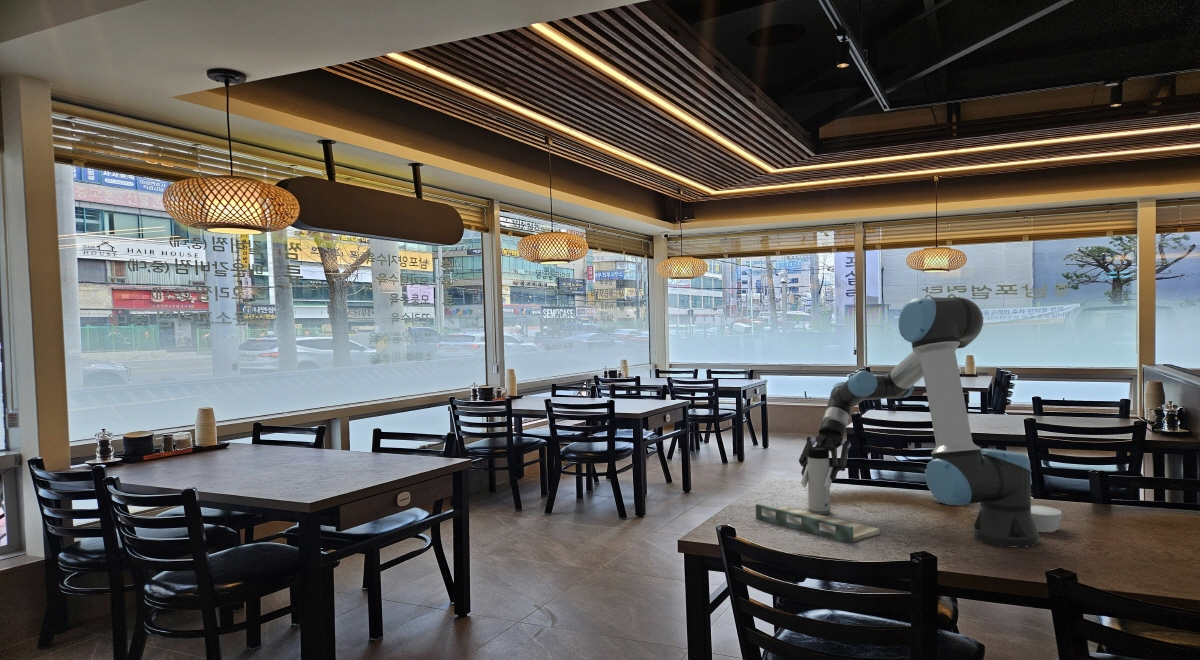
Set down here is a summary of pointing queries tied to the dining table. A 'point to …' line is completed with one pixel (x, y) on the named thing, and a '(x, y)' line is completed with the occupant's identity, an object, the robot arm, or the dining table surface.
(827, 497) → the travel mug
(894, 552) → the dining table surface
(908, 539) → the dining table surface
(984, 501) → the robot arm
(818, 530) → the shelf
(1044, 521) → the ramekin
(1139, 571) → the dining table surface
